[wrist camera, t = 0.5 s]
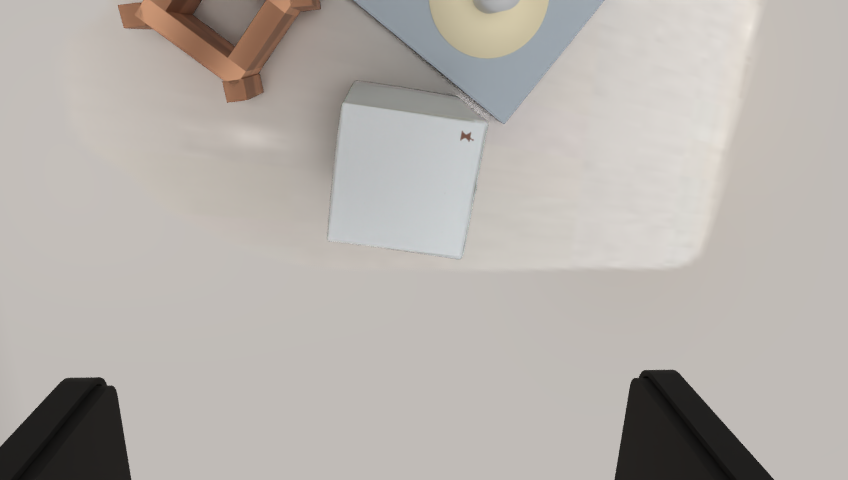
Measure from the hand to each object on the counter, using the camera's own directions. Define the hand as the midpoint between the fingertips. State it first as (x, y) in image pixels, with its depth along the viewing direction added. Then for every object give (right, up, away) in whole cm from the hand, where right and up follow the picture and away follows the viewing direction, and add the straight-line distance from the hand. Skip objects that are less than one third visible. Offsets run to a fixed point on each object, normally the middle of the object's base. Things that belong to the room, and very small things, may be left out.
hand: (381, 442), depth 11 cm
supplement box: (-1, +11, +30) cm, 32 cm away
